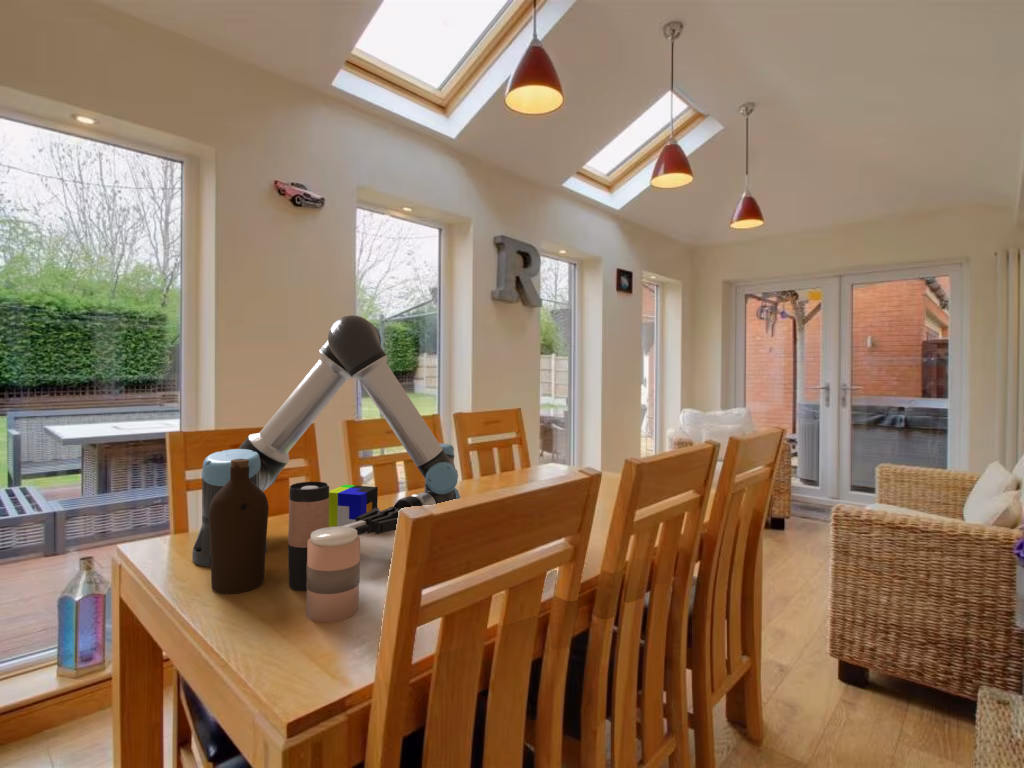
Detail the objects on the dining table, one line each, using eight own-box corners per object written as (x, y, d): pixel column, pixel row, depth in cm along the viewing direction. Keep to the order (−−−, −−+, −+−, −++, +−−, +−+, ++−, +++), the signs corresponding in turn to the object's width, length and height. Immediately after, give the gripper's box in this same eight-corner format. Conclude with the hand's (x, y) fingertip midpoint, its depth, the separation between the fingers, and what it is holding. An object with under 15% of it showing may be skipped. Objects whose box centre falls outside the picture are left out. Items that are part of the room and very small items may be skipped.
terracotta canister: (298, 622, 93) (300, 541, 93) (314, 599, 102) (315, 525, 102) (353, 622, 94) (354, 541, 93) (363, 599, 103) (365, 525, 103)
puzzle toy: (360, 532, 143) (361, 495, 143) (325, 529, 145) (326, 492, 145) (376, 522, 153) (377, 487, 153) (344, 519, 155) (345, 484, 155)
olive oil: (279, 580, 111) (281, 458, 110) (233, 600, 101) (235, 467, 100) (242, 570, 115) (244, 453, 114) (195, 588, 105) (196, 461, 105)
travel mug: (278, 588, 107) (280, 487, 106) (304, 574, 114) (306, 480, 114) (311, 593, 105) (313, 491, 104) (335, 579, 112) (337, 483, 111)
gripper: (434, 529, 133) (362, 557, 113) (394, 520, 140) (320, 545, 120) (434, 499, 133) (362, 521, 113) (395, 491, 140) (320, 511, 120)
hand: (340, 533), depth 116 cm, fingers closed
